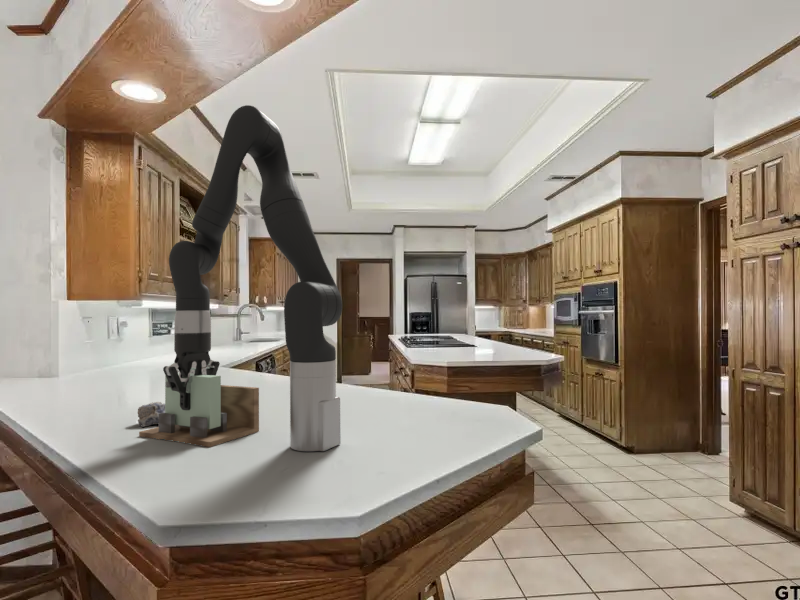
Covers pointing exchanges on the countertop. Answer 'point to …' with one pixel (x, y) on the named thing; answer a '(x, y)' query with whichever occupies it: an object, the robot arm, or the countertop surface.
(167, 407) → the cabinet door
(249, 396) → the hinge base
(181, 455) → the countertop surface
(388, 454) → the countertop surface
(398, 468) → the countertop surface
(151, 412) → the mineral specimen
